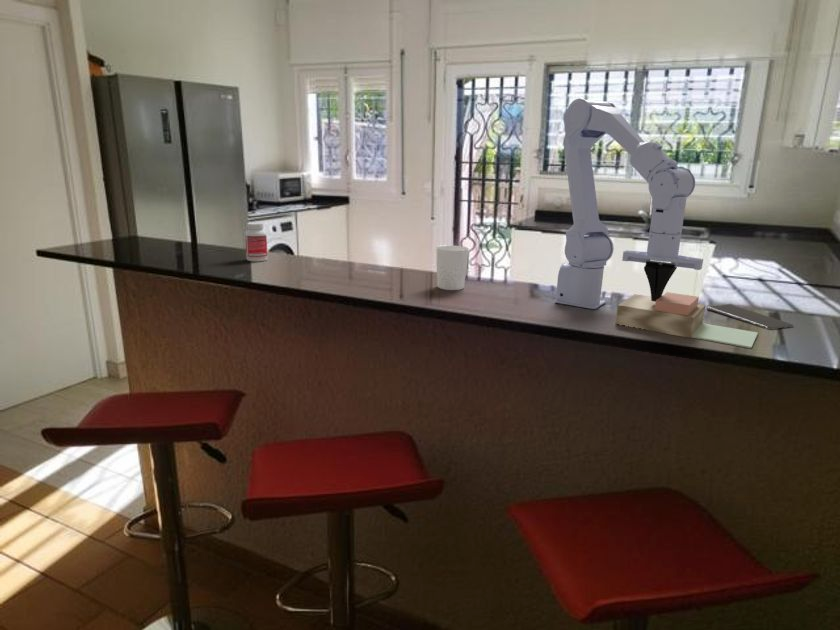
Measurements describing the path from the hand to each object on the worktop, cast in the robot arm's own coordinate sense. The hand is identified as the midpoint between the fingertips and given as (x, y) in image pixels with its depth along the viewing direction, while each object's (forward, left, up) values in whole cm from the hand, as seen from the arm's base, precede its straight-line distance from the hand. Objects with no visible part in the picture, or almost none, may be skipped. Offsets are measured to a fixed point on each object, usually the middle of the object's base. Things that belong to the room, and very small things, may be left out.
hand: (655, 300), depth 114 cm
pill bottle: (-113, -7, -5) cm, 113 cm away
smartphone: (+15, +19, -6) cm, 25 cm away
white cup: (-49, +1, -5) cm, 49 cm away
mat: (+13, +1, -5) cm, 14 cm away
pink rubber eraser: (+4, 0, -1) cm, 4 cm away
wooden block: (+1, +1, -5) cm, 5 cm away
